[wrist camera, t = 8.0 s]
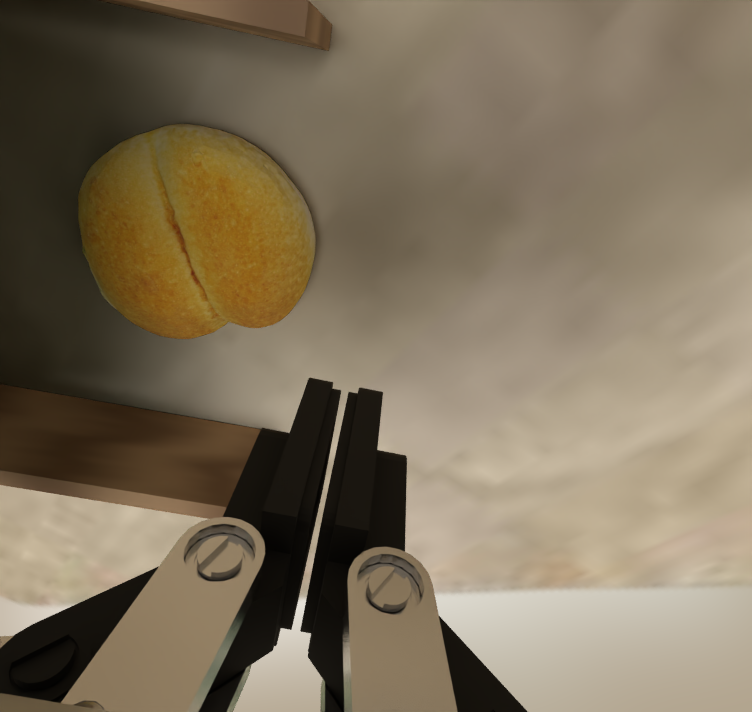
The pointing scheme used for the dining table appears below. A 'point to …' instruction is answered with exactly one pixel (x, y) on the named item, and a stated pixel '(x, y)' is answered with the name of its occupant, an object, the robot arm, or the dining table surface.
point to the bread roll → (195, 232)
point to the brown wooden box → (134, 425)
